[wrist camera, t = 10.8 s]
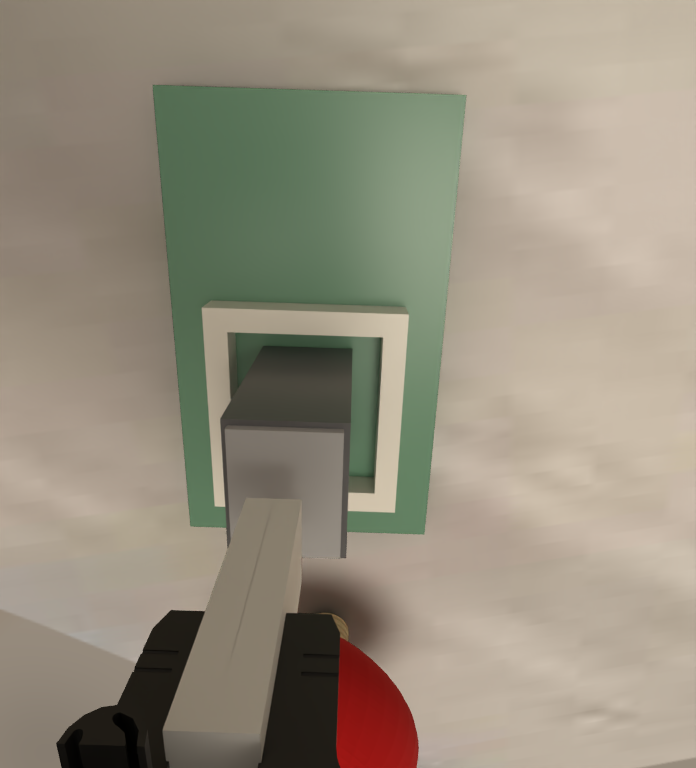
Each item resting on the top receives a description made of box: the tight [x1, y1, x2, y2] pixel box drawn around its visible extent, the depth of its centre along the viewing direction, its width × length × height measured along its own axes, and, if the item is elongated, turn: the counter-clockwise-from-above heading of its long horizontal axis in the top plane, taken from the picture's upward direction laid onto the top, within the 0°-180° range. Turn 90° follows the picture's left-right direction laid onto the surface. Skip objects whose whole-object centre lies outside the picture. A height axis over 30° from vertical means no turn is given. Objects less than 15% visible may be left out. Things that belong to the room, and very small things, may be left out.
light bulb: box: [318, 613, 419, 768], centre depth 26 cm, size 9×7×10 cm
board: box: [153, 85, 466, 534], centre depth 24 cm, size 20×12×3 cm, turn 178°
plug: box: [220, 346, 353, 559], centre depth 21 cm, size 6×4×8 cm, turn 178°
